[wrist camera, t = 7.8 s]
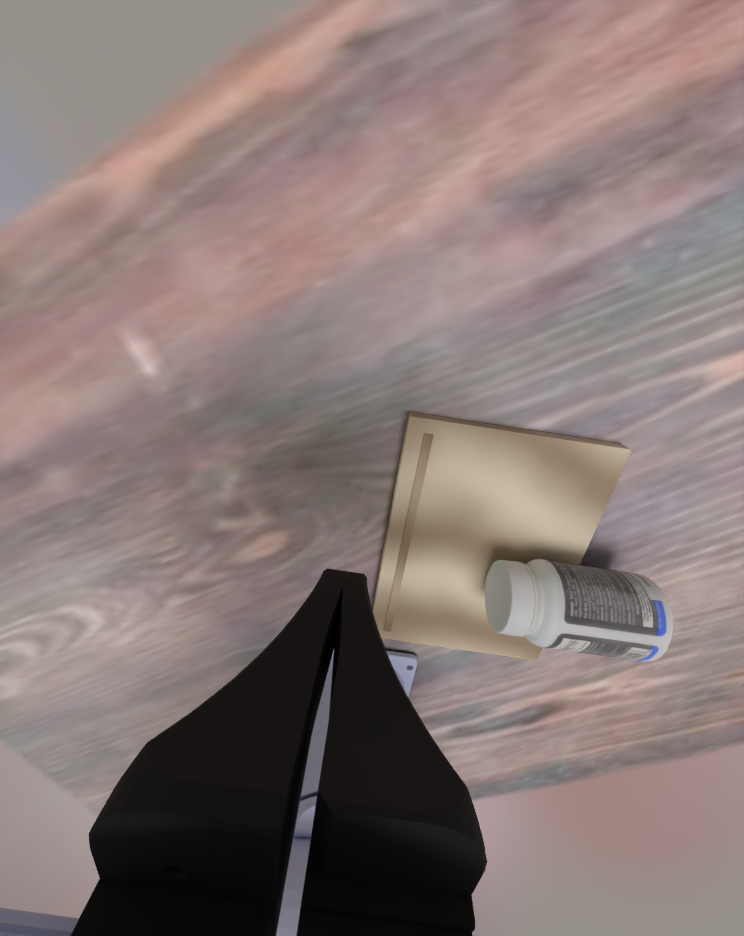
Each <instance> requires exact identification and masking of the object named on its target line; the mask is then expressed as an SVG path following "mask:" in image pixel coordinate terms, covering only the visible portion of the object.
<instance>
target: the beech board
mask: <svg viewBox="0 0 744 936" xmlns="http://www.w3.org/2000/svg"><path fill="white" fill-rule="evenodd" d="M630 452H631V449H629V448H628V447H626V446H624V445H622V444H620V443H613V442H606V441H600V440H593V439H586V438H580V437H573V436H567V435H560V434H553V433H547V432H540V431H533V430H527V429H520V428H514V427H507V426H500V425H494V424H487V423H480V422H474V421H467V420H461V419H454V418H447V417H441V416H434V415H428V414H421V413H414V412H409V413H408V418H407V424H406V429H405V435H404V440H403V445H402V451H401V456H400V462H399V467H398V472H397V478H396V483H395V489H394V494H393V500H392V505H391V510H390V516H389V521H388V527H387V532H386V537H385V543H384V548H383V554H382V559H381V564H380V570H379V575H378V581H377V586H376V592H375V597H374V602H373V608H372V611H373V614H374V618H375V621H376V624H377V627H378V630H379V633H380V636H381V638H384V639H391V640H398V641H405V642H412V643H418V644H425V645H432V646H439V647H446V648H453V649H460V650H467V651H474V652H481V653H488V654H495V655H502V656H509V657H515V658H522V659H529V660H536V661H537V658H538V656H539V654H540V652H541V650H542V647H539V646H536V645H534V644H532V643H531V642H530V641H528V640H527V639H526V637H525V636H524V637H520V636H511V635H505V634H499V633H497V632H495V631H494V630H493V629H492V628H491V626H490V624H489V622H488V618H487V614H486V609H485V585H486V579H487V575H488V572H489V570H490V568H491V566H492V564H493V563H494V562H495V561H497V560H506V561H518V562H520V563H524V564H526V563H528V562H530V561H532V560H535V559H546V560H550V561H558V562H563V563H569V564H576V565H580V563H581V561H582V559H583V556H584V554H585V552H586V550H587V548H588V545H589V543H590V541H591V539H592V536H593V534H594V532H595V530H596V528H597V525H598V523H599V521H600V519H601V516H602V514H603V512H604V510H605V508H606V505H607V503H608V501H609V499H610V497H611V494H612V492H613V490H614V488H615V485H616V483H617V481H618V479H619V477H620V474H621V472H622V470H623V468H624V465H625V463H626V461H627V459H628V457H629V454H630Z"/></svg>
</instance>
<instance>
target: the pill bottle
mask: <svg viewBox="0 0 744 936" xmlns="http://www.w3.org/2000/svg"><path fill="white" fill-rule="evenodd" d="M485 609H486V614H487V618H488V622H489V624H490V626H491V628H492V629H493V630H494V631H495V632H497V633H499V634H505V635H511V636H520V637H524V636H525V637H526V639H527V640H528V641H530V642H531V643H532V644H534V645H536V646H539V647H543V648H551V649H558V650H565V651H573V652H579V653H587V654H595V655H601V656H607V657H614V658H621V659H628V660H634V661H643V662H648V661H653V660H656V659H658V658H660V657H661V656H662V655H663V654H664V653H665V651H666V650H667V648H668V646H669V644H670V641H671V637H672V632H673V616H672V612H671V608H670V605H669V603H668V601H667V599H666V597H665V595H664V593H663V592H662V590H661V589H660V588H659V587H658V586H657V585H656V584H655V583H654V582H653V581H652V580H650V579H649V578H647V577H645V576H642V575H640V574H636V573H631V572H623V571H617V570H610V569H603V568H597V567H590V566H583V565H576V564H569V563H563V562H558V561H550V560H546V559H535V560H532V561H530V562H528V563H526V564H524V563H520V562H518V561H506V560H497V561H495V562H494V563H493V564H492V566H491V568H490V570H489V572H488V575H487V579H486V585H485Z"/></svg>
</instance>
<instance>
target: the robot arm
mask: <svg viewBox="0 0 744 936" xmlns="http://www.w3.org/2000/svg"><path fill="white" fill-rule="evenodd" d="M417 664H418V661H417V657H416V656H415V655H413V654H406V653H399V652H392V651H386V649H385V647H384V644H383V641H382V639H381V636H380V633H379V630H378V627H377V624H376V621H375V618H374V614H373V611H372V607H371V603H370V599H369V594H368V588H367V577H366V576H365V575H364V574H361V573H354V572H347V571H340V570H333V569H326V570H324V571H323V573H322V576H321V578H320V579H319V581H318V583H317V585H316V586H315V588H314V589H313V591H312V592H311V594H310V595H309V597H308V598H307V600H306V601H305V602H304V604H303V605H302V606H301V608H300V609H299V610H298V612H297V613H296V614H295V616H294V617H293V618H292V619H291V620H290V622H289V623H288V624H287V625H286V626H285V628H284V629H283V630H282V631H281V632H280V633H279V635H278V636H277V637H276V638H275V639H274V640H273V641H272V642H271V643H270V644H269V645H268V646H267V647H266V648H265V649H264V650H263V652H262V653H261V654H260V655H259V656H258V657H256V658H255V659H254V660H253V661H252V662H251V663H250V664H249V665H248V666H247V667H246V668H245V669H244V670H243V671H241V672H240V673H239V674H238V675H237V676H236V677H235V678H234V679H232V680H231V681H230V682H229V683H228V684H227V685H225V686H224V687H223V688H222V689H220V690H219V691H218V692H217V693H215V694H214V695H213V696H211V697H210V698H209V699H208V700H206V701H205V702H204V703H203V704H201V705H200V706H199V707H198V708H196V709H195V710H193V711H192V712H191V713H189V714H188V715H187V716H185V717H184V718H182V719H181V720H179V721H178V722H176V723H175V724H174V725H172V726H171V727H169V728H168V729H166V730H165V731H163V732H162V733H161V734H159V735H158V736H156V737H155V738H153V739H152V740H150V741H149V742H147V744H146V745H145V746H144V747H143V749H142V750H141V751H140V753H139V754H138V755H137V757H136V758H135V759H134V761H133V762H132V763H131V765H130V766H129V768H128V769H127V770H126V772H125V773H124V775H123V776H122V777H121V779H120V780H119V782H118V783H117V785H116V786H115V788H114V790H113V791H112V793H111V795H110V797H109V798H108V800H107V802H106V804H105V805H104V807H103V809H102V811H101V812H100V814H99V816H98V818H97V819H96V822H95V823H94V825H93V827H92V828H91V831H90V832H89V843H90V849H91V852H92V856H93V858H94V861H95V865H96V867H97V871H98V874H99V877H100V880H99V881H98V883H97V885H96V887H95V889H94V891H93V893H92V895H91V897H90V899H89V901H88V903H87V905H86V906H85V909H84V910H83V912H82V914H81V916H80V918H79V919H78V918H71V917H63V916H56V915H49V914H42V913H34V912H27V911H19V910H12V909H5V908H0V936H472V931H474V929H475V918H474V911H473V903H472V896H471V895H472V893H473V891H474V889H475V888H476V885H477V884H478V882H479V880H480V879H481V877H482V875H483V873H484V871H485V867H486V863H487V860H486V854H485V847H484V842H483V838H482V833H481V830H480V826H479V822H478V819H477V816H476V812H475V809H474V806H473V803H472V800H471V797H470V794H469V791H468V788H467V786H466V785H465V784H464V782H463V781H462V780H461V778H460V777H459V776H458V774H457V773H456V772H455V770H454V769H453V767H452V766H451V765H450V763H449V762H448V760H447V759H446V758H445V756H444V755H443V753H442V752H441V750H440V749H439V747H438V746H437V744H436V743H435V741H434V740H433V738H432V737H431V735H430V734H429V732H428V731H427V729H426V727H425V726H424V724H423V722H422V720H421V719H420V717H419V715H418V714H417V712H416V710H415V708H414V707H413V705H412V703H411V702H410V700H409V698H408V697H409V693H410V690H411V686H412V682H413V679H414V675H415V671H416V667H417ZM408 665H411V666H408Z"/></svg>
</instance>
